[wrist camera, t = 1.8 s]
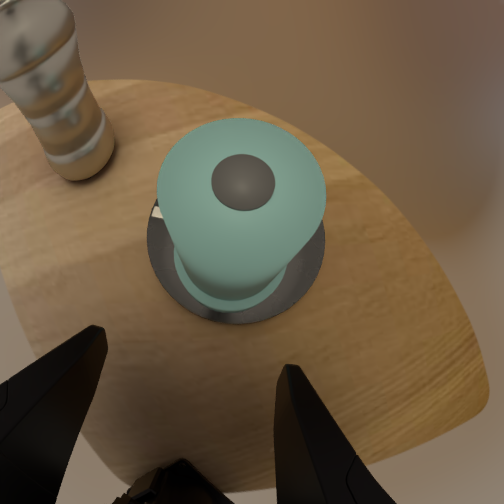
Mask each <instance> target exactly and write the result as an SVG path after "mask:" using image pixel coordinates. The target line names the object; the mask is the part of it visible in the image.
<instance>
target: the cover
mask: <svg viewBox="0 0 504 504" xmlns="http://www.w3.org/2000/svg"><path fill="white" fill-rule="evenodd" d="M157 198H158V204H159V208H160V212H161V214H162V217H163V219H164V222H165V224H166V227H167V229H168V231H169V234H170V236H171V239H172V241H173V243H174V262H175V267H176V270H177V273H178V275H179V278H180V280H181V281H182V283H183V285H184V286H185V288H186V290H187V291H188V293H189V294H190V295H191V296H192V297H193V298H194V299H195V300H196V301H197V302H198V303H200V304H201V305H203V306H205V307H207V308H209V309H211V310H214V311H217V312H222V313H237V312H242V311H246V310H248V309H251V308H253V307H255V306H257V305H258V304H260V303H261V302H262V301H263V300H265V299H266V298H267V297H268V296H269V295H270V294H271V293H272V292H273V291H274V290H275V289H276V288H277V287H278V285H279V284H280V282H281V280H282V278H283V276H284V274H285V270H286V267H287V264H288V263H289V262H290V261H291V260H292V258H293V257H294V256H295V255H296V254H297V253H298V252H299V251H300V250H301V249H302V247H303V246H304V245H305V244H306V243H307V242H308V241H309V239H310V238H311V237H312V236H313V234H314V233H315V232H316V230H317V228H318V226H319V225H320V222H321V220H322V217H323V214H324V210H325V206H326V186H325V182H324V177H323V174H322V172H321V169H320V167H319V165H318V163H317V161H316V159H315V158H314V156H313V155H312V153H311V152H310V151H309V150H308V149H307V148H306V146H305V145H304V144H303V143H302V142H300V141H299V140H298V139H297V138H296V137H294V136H293V135H292V134H290V133H289V132H287V131H285V130H283V129H281V128H280V127H277V126H275V125H272V124H270V123H267V122H263V121H259V120H254V119H246V118H231V119H222V120H218V121H213V122H210V123H207V124H205V125H202V126H200V127H198V128H196V129H194V130H192V131H191V132H189V133H188V134H186V135H185V136H184V137H183V138H181V139H180V140H179V141H178V142H177V143H176V144H175V145H174V146H173V147H172V149H171V150H170V152H169V153H168V154H167V156H166V158H165V160H164V162H163V163H162V166H161V169H160V172H159V176H158V181H157Z"/></svg>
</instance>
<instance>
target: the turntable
mask: <svg viewBox="0 0 504 504" xmlns="http://www.w3.org/2000/svg"><path fill="white" fill-rule="evenodd" d="M147 246H148V254H149V257H150V261H151V264H152V267H153V269H154V271H155V274H156V276H157V277H158V279H159V281H160V282H161V284H162V286H163V287H164V288H165V289H166V290H167V292H168V293H169V294H170V295H171V296H172V297H173V298H174V299H175V300H176V301H177V302H178V303H179V304H181V305H182V306H183V307H185V308H186V309H188V310H189V311H191V312H192V313H194V314H196V315H198V316H200V317H203V318H205V319H208V320H211V321H215V322H220V323H225V324H248V323H254V322H258V321H262V320H265V319H268V318H271V317H273V316H276V315H278V314H279V313H281V312H283V311H285V310H287V309H288V308H289V307H291V306H292V305H293V304H295V303H296V302H297V301H298V300H299V299H300V298H301V297H302V296H303V295H304V294H305V293H306V292H307V291H308V289H309V288H310V287H311V285H312V284H313V282H314V280H315V278H316V277H317V275H318V272H319V270H320V267H321V264H322V260H323V256H324V249H325V232H324V226H323V221H322V220H321V222H320V225H319V226H318V228H317V230H316V232H315V233H314V234H313V236H312V237H311V238H310V239H309V241H308V242H307V243H306V244H305V245H304V246H303V247H302V249H301V250H300V251H299V252H298V253H297V254H296V255H295V256H294V257H293V258H292V260H291V261H290V262H289V263H288V264H287V267H286V270H285V274H284V276H283V278H282V280H281V282H280V284H279V285H278V287H277V288H276V289H275V290H274V291H273V292H272V293H271V294H270V295H269V296H268V297H267V298H266V299H265V300H263V301H262V302H261V303H260V304H258V305H257V306H255V307H253V308H251V309H248V310H246V311H242V312H237V313H222V312H217V311H214V310H211V309H209V308H207V307H205V306H203V305H201V304H200V303H198V302H197V301H196V300H195V299H194V298H193V297H192V296H191V295H190V294H189V293H188V291H187V290H186V288H185V286H184V285H183V283H182V281H181V280H180V278H179V275H178V273H177V270H176V267H175V262H174V243H173V241H172V239H171V236H170V234H169V231H168V229H167V227H166V224H165V222H164V219H163V217H162V214H161V212H160V208H159V204H158V198H157V199H156V202H155V204H154V206H153V208H152V211H151V214H150V217H149V222H148V228H147Z"/></svg>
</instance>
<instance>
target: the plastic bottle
mask: <svg viewBox="0 0 504 504" xmlns="http://www.w3.org/2000/svg"><path fill="white" fill-rule="evenodd" d="M0 88H1V89H2V90H3V91H4V92H5V93H6V94H7V95H8V97H9V98H10V99H11V100H12V101H13V102H14V103H15V104H16V106H17V107H18V108H19V110H20V111H21V113H22V114H23V115H24V116H25V118H26V119H27V120H28V122H29V123H30V124H31V126H32V128H33V130H34V132H35V134H36V136H37V137H38V139H39V141H40V143H41V145H42V147H43V149H44V152H45V155H46V158H47V160H48V162H49V164H50V166H51V167H52V169H53V170H54V171H55V172H57V173H58V174H59V175H61V176H62V177H63V178H65V179H67V180H73V181H75V180H83V179H87V178H89V177H91V176H93V175H95V174H96V173H98V172H99V171H100V170H101V169H102V168H103V167H104V166H105V165H106V163H107V162H108V160H109V158H110V156H111V154H112V152H113V149H114V144H115V139H114V132H113V127H112V124H111V122H110V120H109V119H108V117H107V115H106V114H105V112H104V111H103V110H102V109H101V108H100V107H99V105H98V103H97V101H96V99H95V98H94V96H93V94H92V92H91V90H90V88H89V86H88V83H87V80H86V76H85V74H84V70H83V66H82V63H81V59H80V55H79V48H78V41H77V33H76V27H75V19H74V14H73V12H72V10H71V9H70V8H69V7H68V5H67V4H66V3H65V2H63V1H62V0H0Z"/></svg>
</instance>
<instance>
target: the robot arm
mask: <svg viewBox="0 0 504 504" xmlns="http://www.w3.org/2000/svg"><path fill="white" fill-rule="evenodd" d="M107 352H108V344H107V338H106V333H105V329H104V328H103V327H100V326H96V325H90V326H88V327H87V328H85V329H84V330H82V331H81V332H79V333H78V334H76V335H74V336H73V337H71V338H70V339H68V340H67V341H65V342H64V343H62V344H61V345H59V346H57V347H56V348H54V349H53V350H51V351H50V352H48V353H47V354H45V355H44V356H42V357H41V358H39V359H38V360H36V361H35V362H33V363H32V364H30V365H29V366H27V367H26V368H24V369H23V370H21V371H20V372H18V373H17V374H15V375H14V376H12V377H11V378H9V380H6V381H5V382H3V383H2V384H0V504H55V503H56V499H57V496H58V493H59V489H60V486H61V483H62V480H63V477H64V474H65V471H66V468H67V465H68V462H69V459H70V456H71V454H72V451H73V448H74V445H75V443H76V440H77V437H78V434H79V432H80V429H81V427H82V424H83V422H84V419H85V417H86V414H87V412H88V409H89V407H90V404H91V402H92V400H93V397H94V394H95V391H96V388H97V385H98V381H99V378H100V375H101V371H102V368H103V365H104V362H105V358H106V355H107ZM274 452H275V471H276V490H277V504H396V503H395V501H394V500H393V499H392V498H391V497H390V496H389V495H388V494H387V493H386V491H385V490H384V489H383V488H382V487H381V486H380V485H379V483H378V482H377V481H376V480H375V479H374V477H373V476H372V474H371V473H370V472H369V470H368V469H367V468H366V466H365V465H364V463H363V462H362V460H361V459H360V457H359V456H358V455H356V452H355V450H354V449H353V447H352V446H351V444H350V443H349V441H348V440H347V438H346V437H345V435H344V434H343V432H342V431H341V429H340V428H339V426H338V425H337V423H336V422H335V420H334V419H333V417H332V416H331V414H330V412H329V411H328V409H327V408H326V406H325V405H324V403H323V402H322V400H321V399H320V397H319V396H318V394H317V393H316V391H315V389H314V388H313V386H312V385H311V383H310V382H309V380H308V379H307V377H306V376H305V374H304V372H303V371H302V369H301V368H300V367H299V366H298V365H293V364H285V365H284V367H283V369H282V372H281V374H280V376H279V379H278V382H277V387H276V402H275V415H274ZM180 463H184V464H185V465H186V466H184V467H183V466H181V465H180ZM112 504H234V503H233V502H232V501H230V499H228V498H227V497H226V496H225V495H224V494H223V493H222V492H220V491H219V490H218V489H217V488H216V487H215V486H214V485H213V484H211V483H210V482H209V481H208V480H207V479H206V478H205V477H204V476H203V475H202V474H201V473H200V472H199V471H198V470H197V469H196V468H195V467H194V466H193V465H192V464H191V463H190V462H189V461H187V460H186V459H178V460H177V461H175V462H174V463H172V464H170V465H169V466H167V467H165V468H164V469H163V468H160V467H158V468H156V469H154V470H153V471H151V472H149V473H147V474H146V475H144V476H142V477H140V478H139V479H137V480H136V482H135V483H134V485H133V486H132V487H130V488H129V489H128V490H127V494H125V493H124V494H123V495H122V496H121V498H119V497H117V498H116V499H115V501H114V502H113V503H112Z"/></svg>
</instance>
